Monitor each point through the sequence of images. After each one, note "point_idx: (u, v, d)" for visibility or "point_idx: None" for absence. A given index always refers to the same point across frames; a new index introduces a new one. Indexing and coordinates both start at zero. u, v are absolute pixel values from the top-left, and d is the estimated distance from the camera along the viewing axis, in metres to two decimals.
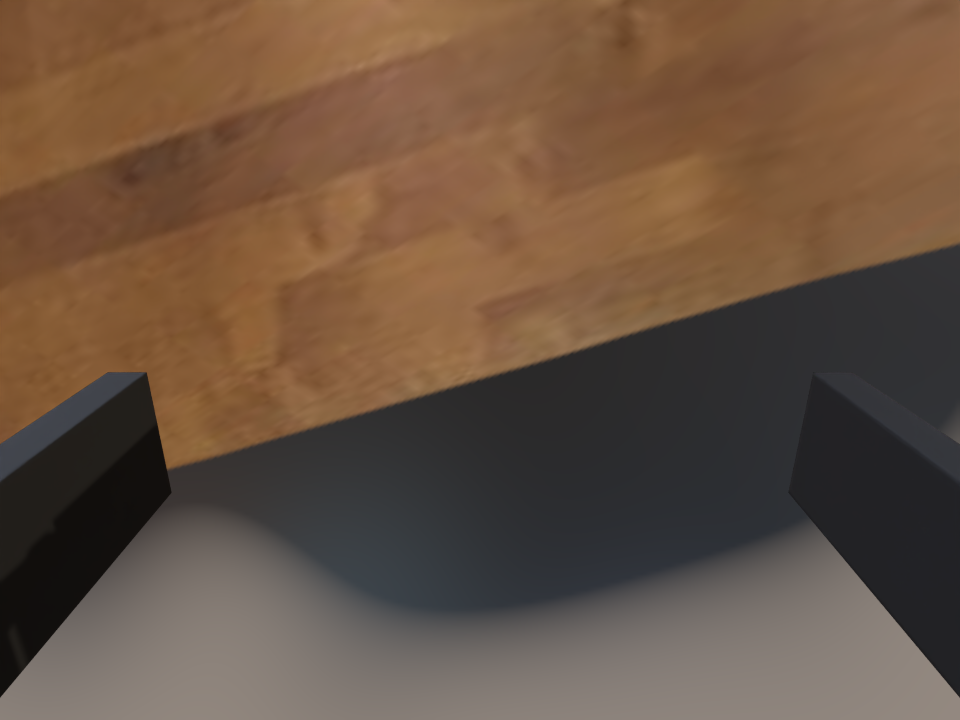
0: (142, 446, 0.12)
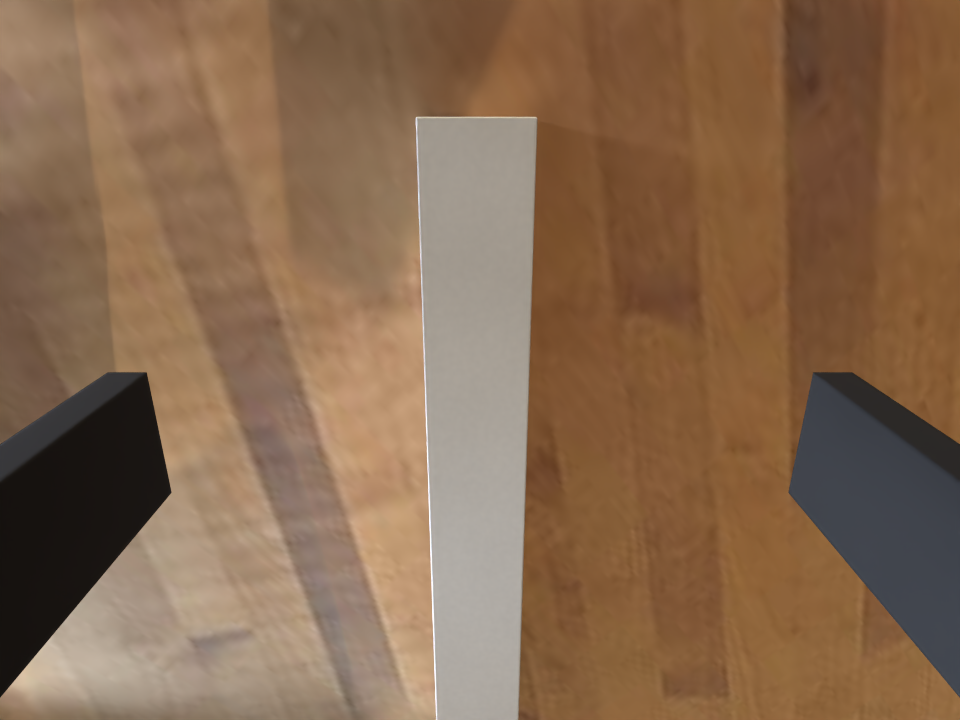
0: (142, 446, 0.12)
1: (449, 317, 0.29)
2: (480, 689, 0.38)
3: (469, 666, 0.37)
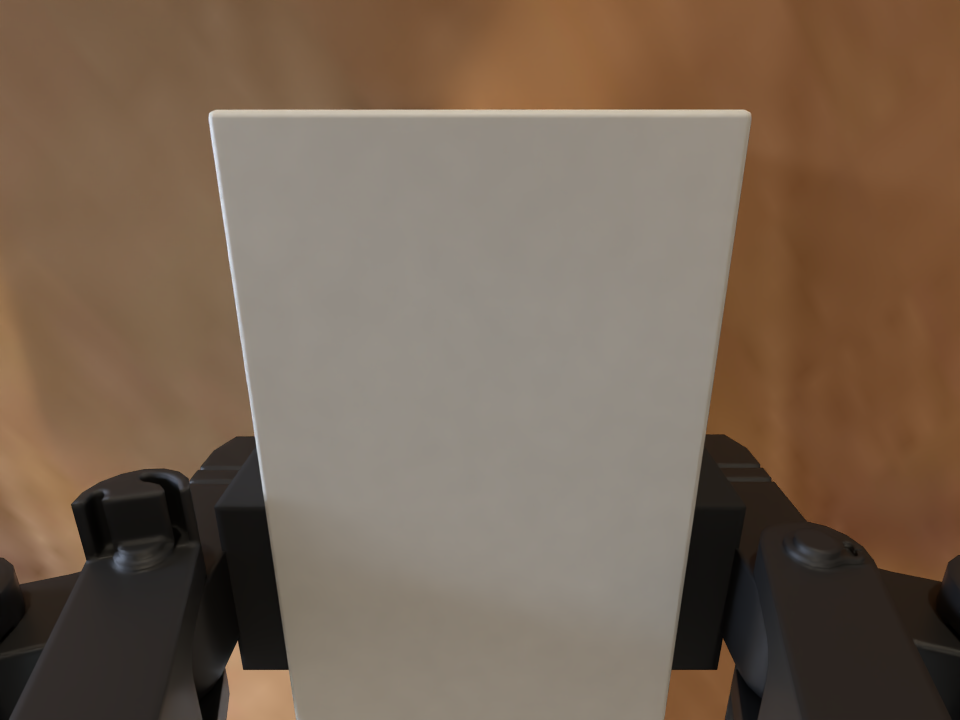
0: None
1: None
2: None
3: None
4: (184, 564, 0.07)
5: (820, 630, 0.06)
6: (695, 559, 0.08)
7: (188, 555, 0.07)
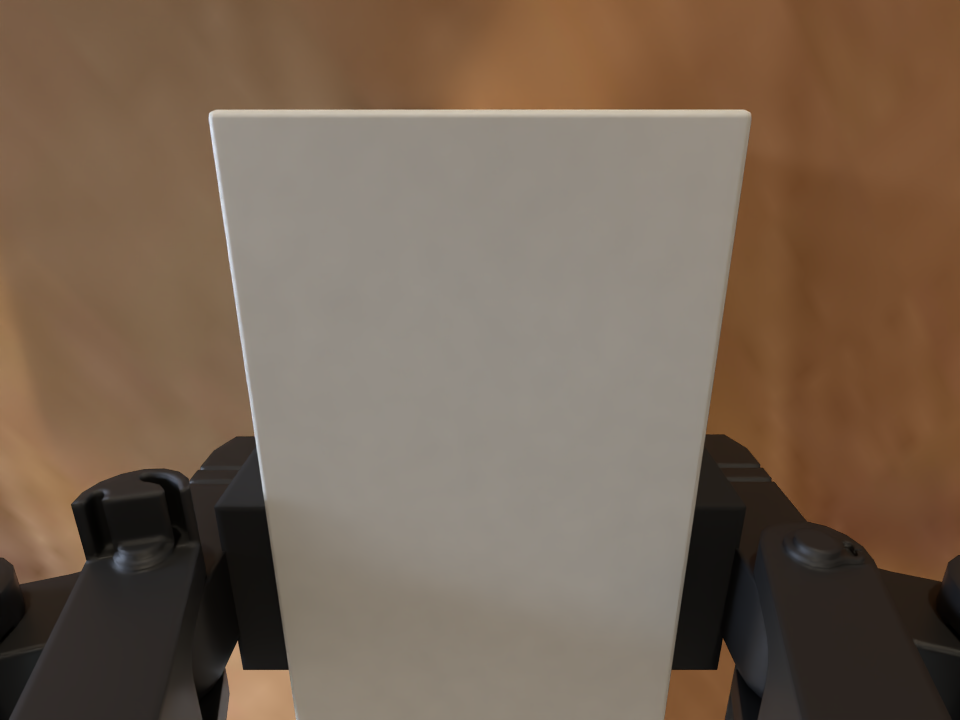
0: None
1: None
2: None
3: None
4: (184, 564, 0.07)
5: (820, 630, 0.06)
6: (695, 559, 0.08)
7: (188, 555, 0.07)
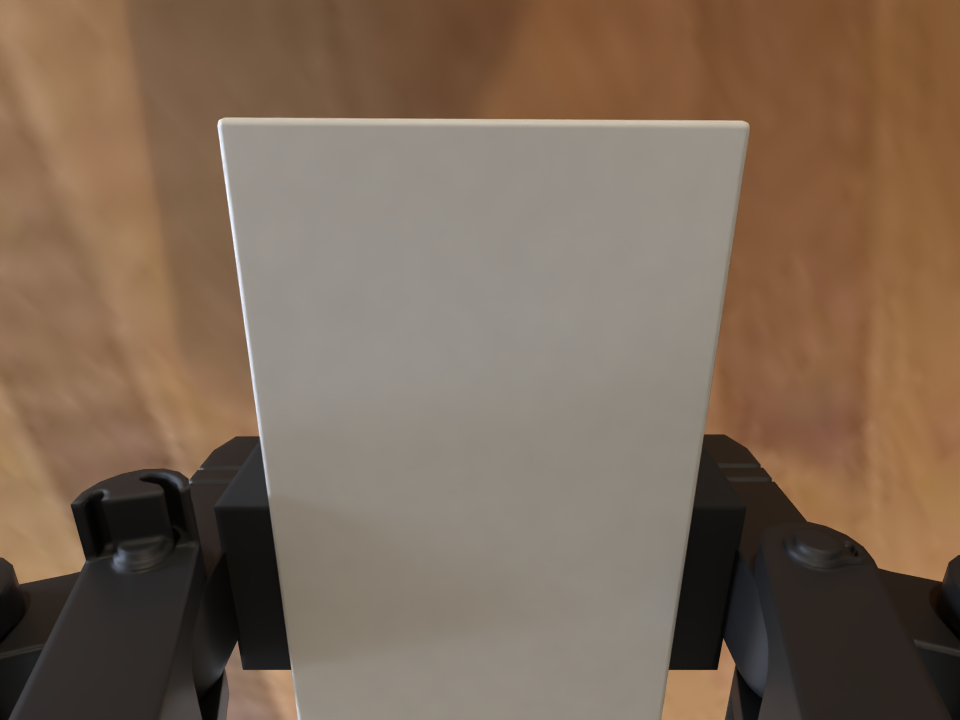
0: None
1: None
2: None
3: None
4: (184, 564, 0.07)
5: (820, 630, 0.06)
6: (695, 559, 0.08)
7: (188, 555, 0.07)
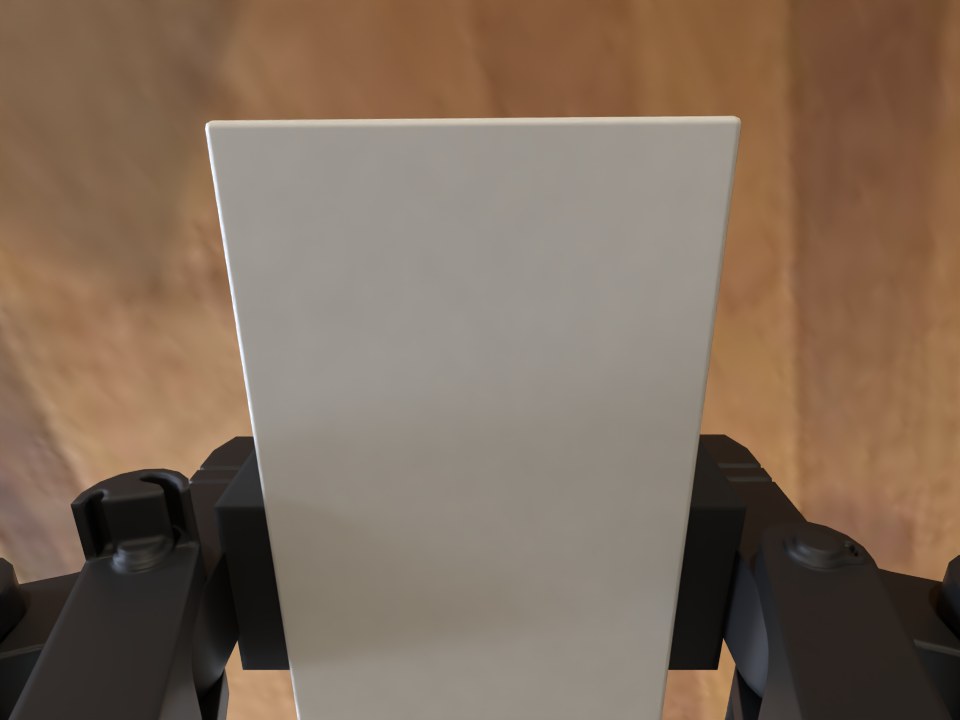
0: None
1: None
2: None
3: None
4: (184, 564, 0.07)
5: (820, 630, 0.06)
6: (695, 559, 0.08)
7: (188, 555, 0.07)
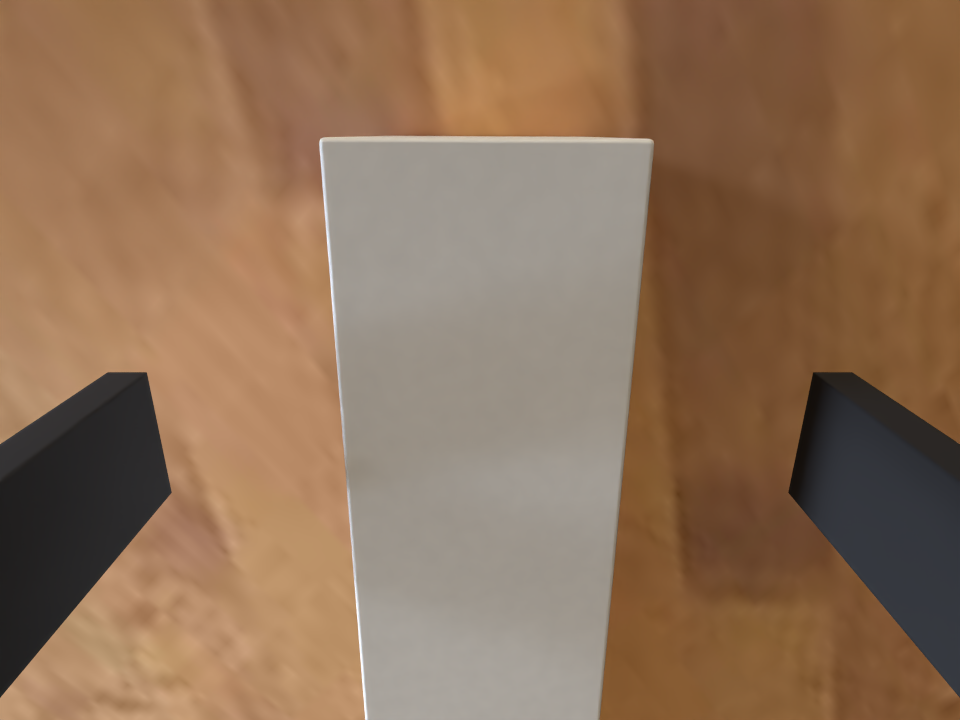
0: (142, 446, 0.12)
1: (418, 603, 0.13)
2: None
3: None
4: None
5: None
6: None
7: None
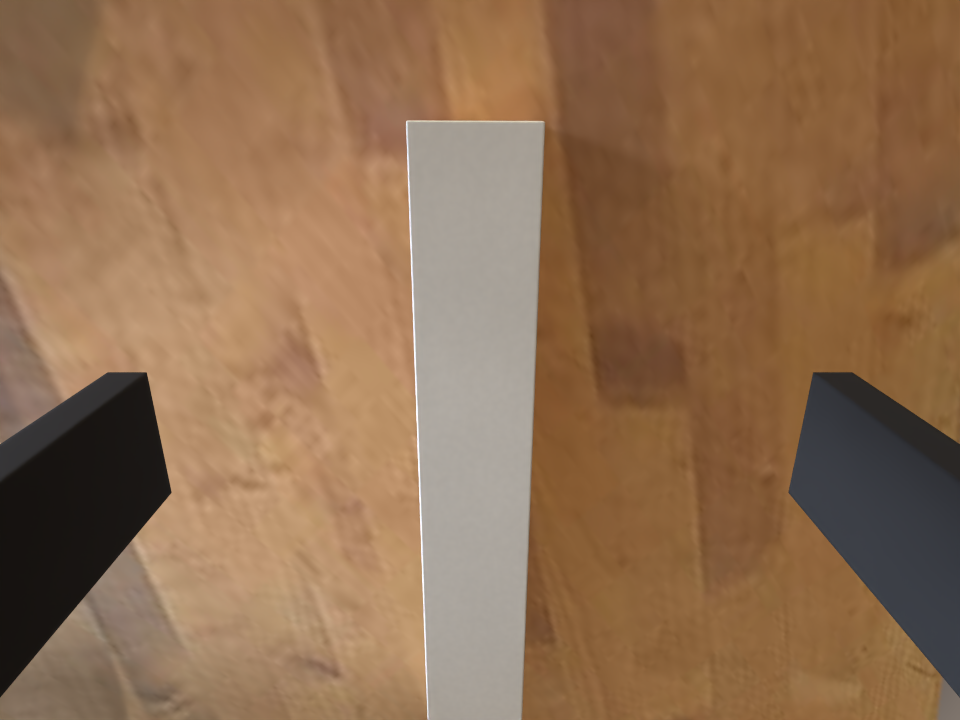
0: (142, 446, 0.12)
1: (444, 345, 0.26)
2: None
3: None
4: None
5: None
6: None
7: None
